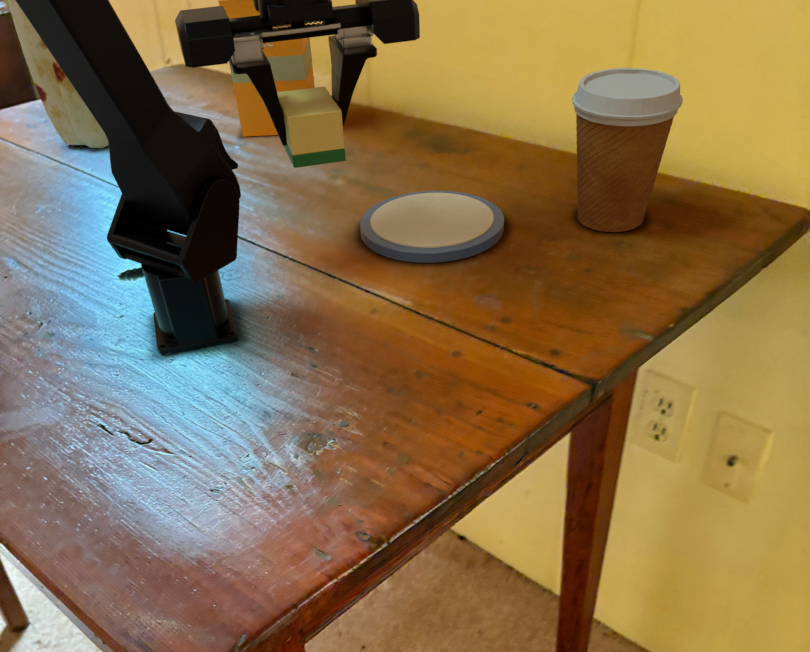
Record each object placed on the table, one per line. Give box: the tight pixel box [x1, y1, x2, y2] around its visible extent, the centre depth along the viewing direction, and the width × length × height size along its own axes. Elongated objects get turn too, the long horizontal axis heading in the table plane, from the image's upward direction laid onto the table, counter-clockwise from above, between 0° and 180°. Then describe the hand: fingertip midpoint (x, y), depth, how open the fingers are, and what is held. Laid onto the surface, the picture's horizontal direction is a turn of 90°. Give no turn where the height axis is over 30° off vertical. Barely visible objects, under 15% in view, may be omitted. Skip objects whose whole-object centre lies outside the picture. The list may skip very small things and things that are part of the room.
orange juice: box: [218, 0, 316, 138], centre depth 95 cm, size 8×9×20 cm
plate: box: [359, 190, 505, 264], centre depth 78 cm, size 14×14×1 cm
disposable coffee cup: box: [571, 67, 684, 233], centre depth 74 cm, size 10×10×12 cm
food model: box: [7, 0, 109, 149], centre depth 93 cm, size 10×7×20 cm
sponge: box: [277, 86, 347, 169], centre depth 69 cm, size 7×4×4 cm, turn 15°
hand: (311, 140), depth 70 cm, fingers closed on sponge, 4 cm apart
